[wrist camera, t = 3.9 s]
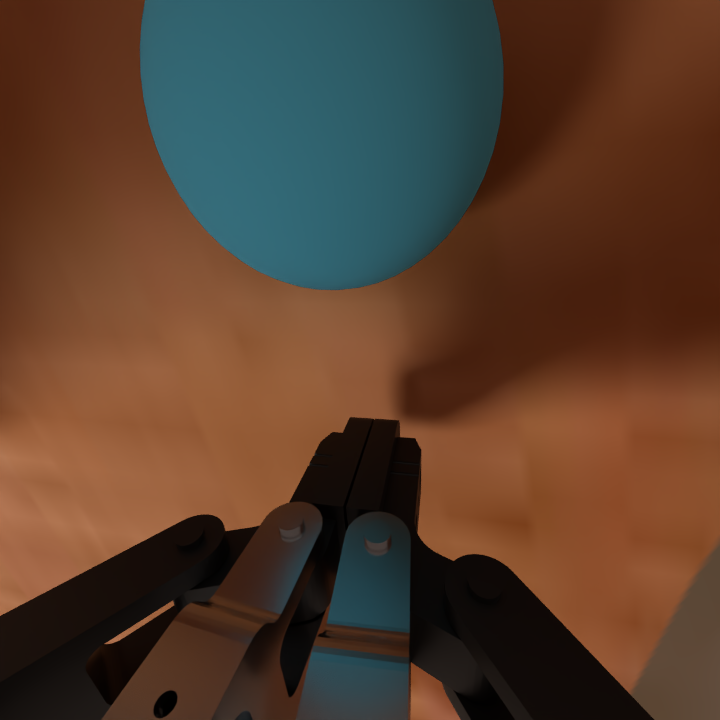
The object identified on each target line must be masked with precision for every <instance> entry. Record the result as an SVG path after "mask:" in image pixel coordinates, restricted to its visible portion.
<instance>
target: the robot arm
mask: <svg viewBox="0 0 720 720" xmlns="http://www.w3.org/2000/svg"><path fill="white" fill-rule="evenodd" d="M420 495H421V449H420V447H419V445H418V443H417V441H416V439H415V438H403V437H400V423H399V420H386V419H375V420H374V419H370V418H355V417H350V418H349V420H348V422H347V425H346V427H345V429H344V432H343V433H337V432H332V433H331V434H330V435H328V436H327V437H326V438H325V439H323V440H322V441H321V442H320V444H319V446H318V448H317V450H316V452H315V456H313V458H312V460H311V462H310V465H309V466H308V467H307V469H306V471H305V473H304V475H303V477H302V479H301V481H300V483H299V485H298V487H297V489H296V490H295V492H294V494H293V496H292V498H291V500H290V502H289V503H286V504H283V505H281V506H279V507H277V508H275V509H274V510H273V511H271V512H270V513H269V514H268V515H267V516H266V518H265V519H264V520H263V522H262V523H261V525H260V526H256V527H251V528H244V529H238V530H231V531H225V528H224V525H223V522H222V521H221V520H220V519H219V518H218V517H216V516H213V515H197V516H193V517H190V518H187V519H185V520H183V521H181V522H179V523H177V524H175V525H173V526H171V527H170V528H168V529H166V530H164V531H162V532H160V533H158V534H156V535H154V536H152V537H150V538H148V539H147V540H145V541H143V542H141V543H139V544H137V545H135V546H133V547H131V548H129V549H127V550H126V551H124V552H122V553H120V554H118V555H116V556H114V557H112V558H110V559H108V560H106V561H104V562H103V563H101V564H99V565H97V566H95V567H93V568H91V569H89V570H87V571H85V572H83V573H82V574H80V575H78V576H76V577H74V578H72V579H70V580H68V581H66V582H64V583H62V584H61V585H59V586H57V587H55V588H53V589H51V590H49V591H47V592H45V593H43V594H41V595H39V596H38V597H36V598H34V599H32V600H30V601H28V602H26V603H24V604H22V605H20V606H18V607H17V608H15V609H13V610H11V611H9V612H7V613H5V614H3V615H1V616H0V720H410V702H411V662H412V663H413V664H415V665H416V666H418V667H419V668H421V669H422V670H424V671H425V672H427V673H428V674H430V675H431V676H433V677H435V678H436V679H438V680H439V681H441V682H442V684H443V687H444V690H445V692H446V694H447V696H448V698H449V700H450V701H451V703H452V705H453V707H454V708H455V710H456V712H457V714H458V715H459V717H460V719H461V720H654V719H653V718H652V717H651V716H650V715H649V714H648V713H647V712H646V711H645V710H644V709H643V708H642V707H641V706H640V704H639V703H638V702H637V701H636V700H635V699H634V698H633V697H632V696H631V695H630V694H629V693H628V692H627V691H626V690H625V689H624V688H623V687H622V686H621V685H620V683H619V682H618V681H617V680H616V679H615V678H614V677H613V676H612V675H611V674H610V673H609V672H608V671H607V670H606V669H605V668H604V667H603V666H602V665H601V664H600V663H599V661H598V660H597V659H596V658H595V657H594V656H593V655H592V654H591V653H590V652H589V651H588V650H587V649H586V648H585V647H584V646H583V645H582V644H581V643H580V642H579V641H578V640H577V638H576V637H575V636H574V635H573V634H572V633H571V632H570V631H569V630H568V629H567V628H566V627H565V626H564V625H563V624H562V623H561V622H560V621H559V620H558V619H557V618H556V617H555V615H554V614H553V613H552V612H551V611H550V610H549V609H548V608H547V607H546V606H545V605H544V604H543V603H542V602H541V601H540V600H539V599H538V598H537V597H536V596H535V595H534V593H533V592H532V591H531V590H530V589H529V588H528V587H527V586H526V585H525V584H524V583H523V582H522V581H521V580H520V579H519V578H518V577H517V576H516V575H515V574H514V573H513V572H512V571H511V570H510V569H509V568H508V567H507V566H506V565H504V564H503V563H501V562H500V561H498V560H496V559H494V558H491V557H489V556H485V555H479V554H470V555H465V556H462V557H460V558H458V559H456V560H455V561H452V560H450V559H448V558H446V557H444V556H441V555H439V554H438V553H436V552H434V551H433V550H431V549H430V548H428V547H427V546H426V545H425V544H424V543H423V541H422V540H421V539H420V537H419V536H418V534H417V531H418V518H419V506H420ZM172 600H173V602H174V606H173V607H171V608H170V609H168V610H166V611H165V612H163V613H162V614H160V615H159V616H157V617H156V618H154V619H153V620H151V621H149V622H148V623H146V624H145V625H143V626H142V627H140V628H139V629H137V630H135V631H134V632H132V633H131V634H129V635H128V636H126V637H125V638H123V639H121V640H120V641H117V642H115V643H112V644H105V643H106V642H108V641H109V640H111V639H113V638H114V637H116V636H117V635H119V634H120V633H122V632H124V631H125V630H127V629H128V628H130V627H131V626H133V625H135V624H136V623H138V622H139V621H141V620H143V619H144V618H146V617H147V616H149V615H150V614H152V613H154V612H155V611H157V610H158V609H160V608H161V607H163V606H165V605H166V604H168V603H169V602H171V601H172Z"/></svg>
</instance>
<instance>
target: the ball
mask: <svg viewBox="0 0 720 720" xmlns="http://www.w3.org/2000/svg"><path fill="white" fill-rule="evenodd" d="M140 70H141V82H142V90H143V98H144V104H145V108H146V113H147V117H148V122H149V126H150V129H151V132H152V135H153V139H154V142H155V145H156V148H157V150H158V153H159V155H160V157H161V160H162V162H163V165H164V167H165V169H166V171H167V173H168V175H169V177H170V179H171V180H172V182H173V184H174V186H175V188H176V190H177V191H178V193H179V195H180V196H181V198H182V199H183V201H184V202H185V204H186V205H187V207H188V208H189V210H190V211H191V213H192V214H193V215H194V217H195V218H196V219H197V220H198V221H199V223H200V224H201V225H202V226H203V228H204V229H205V230H206V231H207V232H208V233H209V234H210V235H211V236H212V237H213V238H214V239H215V240H216V241H217V242H218V243H219V244H221V245H222V246H223V247H224V248H225V249H227V250H228V251H229V252H230V253H232V254H233V255H234V256H236V257H237V258H238V259H239V260H241V261H242V262H244V263H245V264H247V265H249V266H250V267H252V268H254V269H255V270H257V271H259V272H261V273H263V274H265V275H268V276H270V277H272V278H274V279H277V280H280V281H283V282H286V283H289V284H293V285H296V286H299V287H305V288H311V289H319V290H341V289H351V288H359V287H363V286H367V285H371V284H375V283H379V282H381V281H384V280H386V279H389V278H391V277H394V276H396V275H398V274H399V273H401V272H403V271H405V270H406V269H408V268H410V267H412V266H413V265H415V264H416V263H417V262H419V261H420V260H421V259H423V258H424V257H425V256H427V255H428V254H429V253H430V252H431V251H433V250H434V249H435V248H436V247H437V246H438V245H439V244H440V243H441V242H442V241H443V240H444V239H445V238H446V237H447V236H448V234H449V233H450V232H451V231H452V230H453V228H454V227H455V226H456V225H457V223H458V222H459V221H460V220H461V218H462V217H463V215H464V213H465V212H466V210H467V209H468V207H469V206H470V204H471V202H472V201H473V199H474V197H475V195H476V193H477V191H478V189H479V187H480V185H481V183H482V180H483V178H484V176H485V173H486V171H487V168H488V165H489V162H490V159H491V156H492V154H493V151H494V146H495V142H496V138H497V134H498V129H499V125H500V118H501V110H502V101H503V55H502V47H501V38H500V31H499V26H498V21H497V17H496V13H495V9H494V5H493V1H492V0H145V4H144V10H143V16H142V23H141V39H140Z"/></svg>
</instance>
